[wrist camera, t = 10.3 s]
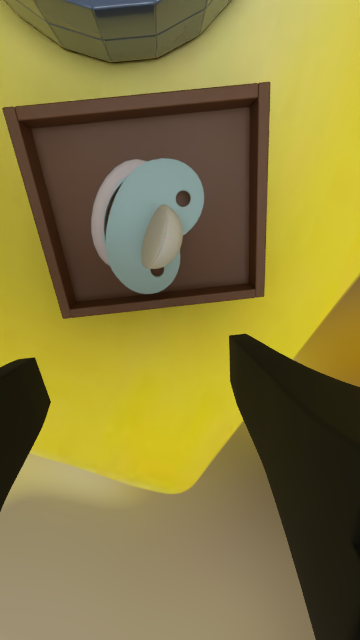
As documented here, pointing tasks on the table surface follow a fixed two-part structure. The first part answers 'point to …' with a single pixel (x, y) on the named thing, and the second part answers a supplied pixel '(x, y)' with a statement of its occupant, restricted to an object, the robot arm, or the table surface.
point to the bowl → (119, 24)
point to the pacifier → (145, 220)
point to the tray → (219, 195)
